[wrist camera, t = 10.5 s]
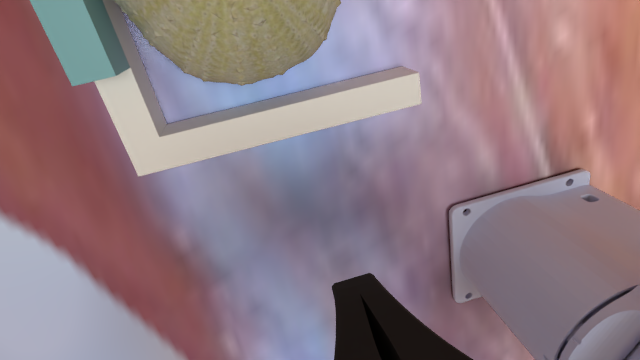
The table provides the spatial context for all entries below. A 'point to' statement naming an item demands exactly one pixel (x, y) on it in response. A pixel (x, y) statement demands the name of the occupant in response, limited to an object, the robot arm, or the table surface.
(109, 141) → the table surface
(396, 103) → the comb rack
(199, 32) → the sea urchin shell
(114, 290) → the table surface
